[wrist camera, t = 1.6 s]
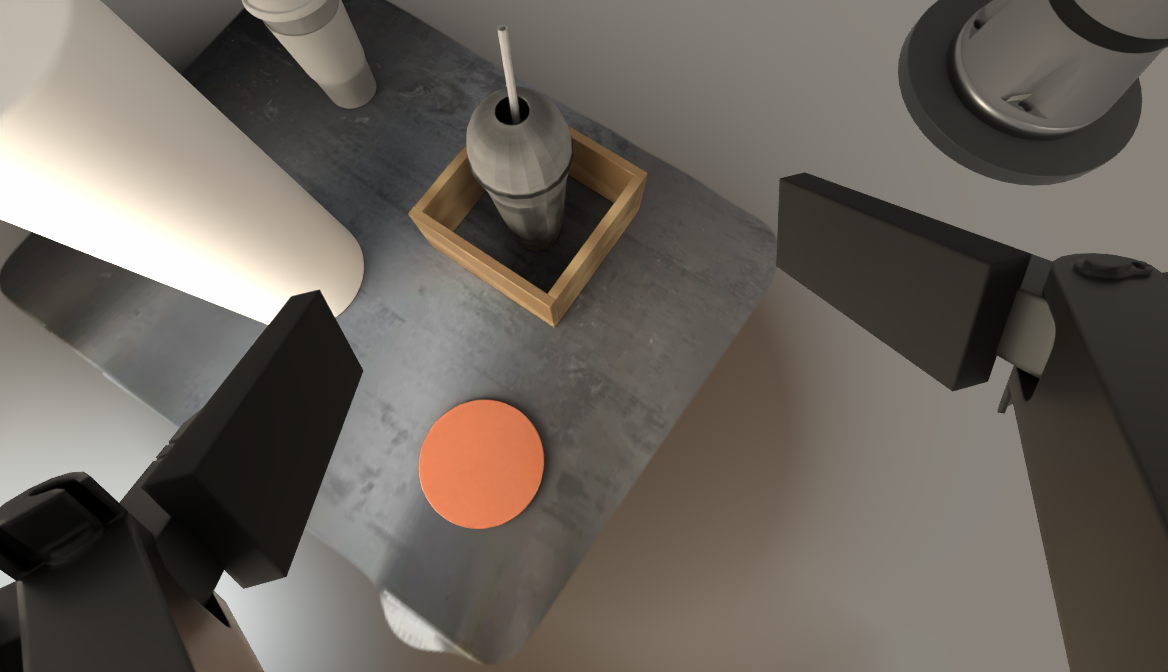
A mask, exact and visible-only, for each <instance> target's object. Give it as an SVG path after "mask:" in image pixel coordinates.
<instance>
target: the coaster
mask: <svg viewBox="0 0 1168 672" xmlns="http://www.w3.org/2000/svg"><path fill="white" fill-rule="evenodd" d="M543 472H544V450H543V445H542V442H541V439H540V436H539V434H538V432H537V430H536V428H535V427H534V425H533V424H532V423H531V421H530V420H529V419H528V418H527V417H526V416H525V415H524V414H523V413H522V412H520V411H519V410H517V409H516V408H514V407H512V406H510V405H508V404H506V403H503V402H499V401H495V400H475V401H470V402H466V403H463V404H461V405H459V406H456V407H454V408H453V409H451V410H450V411H448V412H447V413H445V414H444V415H443V416H442V417H441V418H440V419H439V420H438V421H437V422H436V423H435V424H434V426H433V427H432V428H431V430H430V431H429V433H428V435H427V437H426V439H425V441H424V443H423V446H422V450H421V453H420V460H419V474H420V481H421V485H422V488H423V491H424V493H425V496H426V497H427V499H428V501H429V503H430V504H431V505H432V507H433V508H434V509H435V510H436V511H437V512H438V513H439V514H440V515H441V516H443V517H444V518H445V519H447V520H448V521H450V522H452V523H454V524H457V525H459V526H462V527H467V528H474V529H483V528H490V527H495V526H498V525H501V524H503V523H505V522H507V521H509V520H511V519H513V518H514V517H515V516H517V515H518V514H519V513H521V512H522V511H523V510H524V509H525V508H526V507H527V505H528V504H529V503H530V502H531V501H532V499H533V498H534V496H535V494H536V492H537V490H538V488H539V486H540V483H541V480H542V477H543Z"/></svg>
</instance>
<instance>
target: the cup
mask: <svg viewBox="0 0 1168 672" xmlns="http://www.w3.org/2000/svg"><path fill="white" fill-rule="evenodd" d="M242 3H243V5H244V7H245V8H246V9H247V10H248V11H249V12H250V13H251V14H252V15H254V16H255V17H257V18H259V19H262V20H263V21H264V23H265V25H266V26H267V27H268V28H269V29H270V31H271V32H272V33H273V34H274V35H275V36H276V38H277V39H278V40H279V41H280V42H281V43H282V45H283V46H284V47H285V48H286V49H287V50H288V52H289V53H290V54H291V55H292V56H293V57H294V59H295V60H296V61H297V62H298V63H299V64H300V66H301V67H302V68H303V69H304V70H305V71H306V73H307V74H308V75H309V76H310V77H311V78H312V79H313V80H315V81H316V82H317V83H318V84H319V86H320V87H321V88H322V89H323V90H324V91H325V93H326V94H327V95H328V96H329V97H330V98H331V100H332V101H333V102H334V103H335V104H336V105H338V106H340V107H343V108H348V109H353V108H358V107H361V106H363V105H365V104H367V103H368V102H369V101H370V100H371V99H372V98H373V96H374V95H375V92H376V81H375V79H374V76H373V74H372V72H371V70H370V68H369V65H368V63H367V61H366V59H365V54H364V50H363V48H362V46H361V44H360V41H359V39H358V37H357V35H356V32H355V30H354V28H353V26H352V23H351V21H350V19H349V17H348V14H347V12H346V10H345V8H344V5H343V3H342V1H341V0H242Z"/></svg>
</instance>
